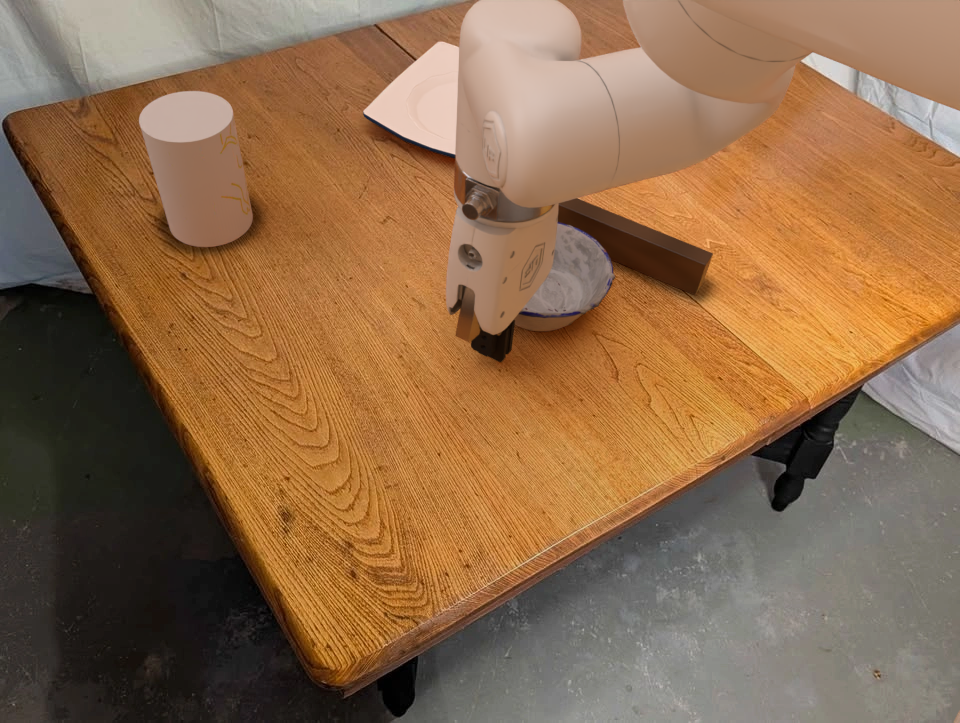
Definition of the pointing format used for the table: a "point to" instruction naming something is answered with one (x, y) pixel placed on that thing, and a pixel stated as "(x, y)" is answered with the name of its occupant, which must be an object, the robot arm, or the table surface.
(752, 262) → the table surface
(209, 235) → the pink tall cylinder
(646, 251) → the rail
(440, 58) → the plate
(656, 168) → the robot arm
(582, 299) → the bowl
